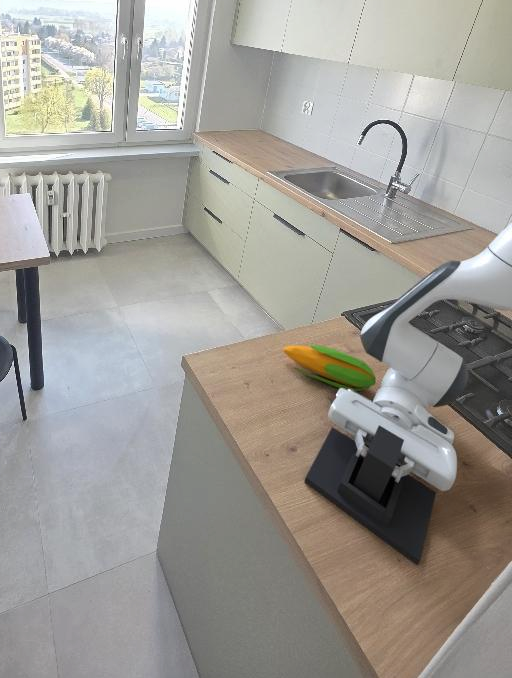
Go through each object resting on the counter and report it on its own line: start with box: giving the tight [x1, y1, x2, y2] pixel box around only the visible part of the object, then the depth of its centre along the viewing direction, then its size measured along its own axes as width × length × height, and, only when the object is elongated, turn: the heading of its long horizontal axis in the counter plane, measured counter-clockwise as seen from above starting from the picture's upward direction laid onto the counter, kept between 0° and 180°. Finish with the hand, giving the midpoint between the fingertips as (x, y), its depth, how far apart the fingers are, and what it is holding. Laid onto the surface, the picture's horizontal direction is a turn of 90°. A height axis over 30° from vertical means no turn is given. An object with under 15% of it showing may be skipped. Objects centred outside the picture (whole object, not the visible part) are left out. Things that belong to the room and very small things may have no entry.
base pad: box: [303, 426, 437, 566], centre depth 75 cm, size 18×14×4 cm
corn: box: [283, 344, 377, 392], centre depth 97 cm, size 7×8×20 cm
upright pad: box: [353, 425, 404, 503], centre depth 73 cm, size 4×7×10 cm, turn 137°
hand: (377, 466), depth 72 cm, fingers closed on upright pad, 4 cm apart
